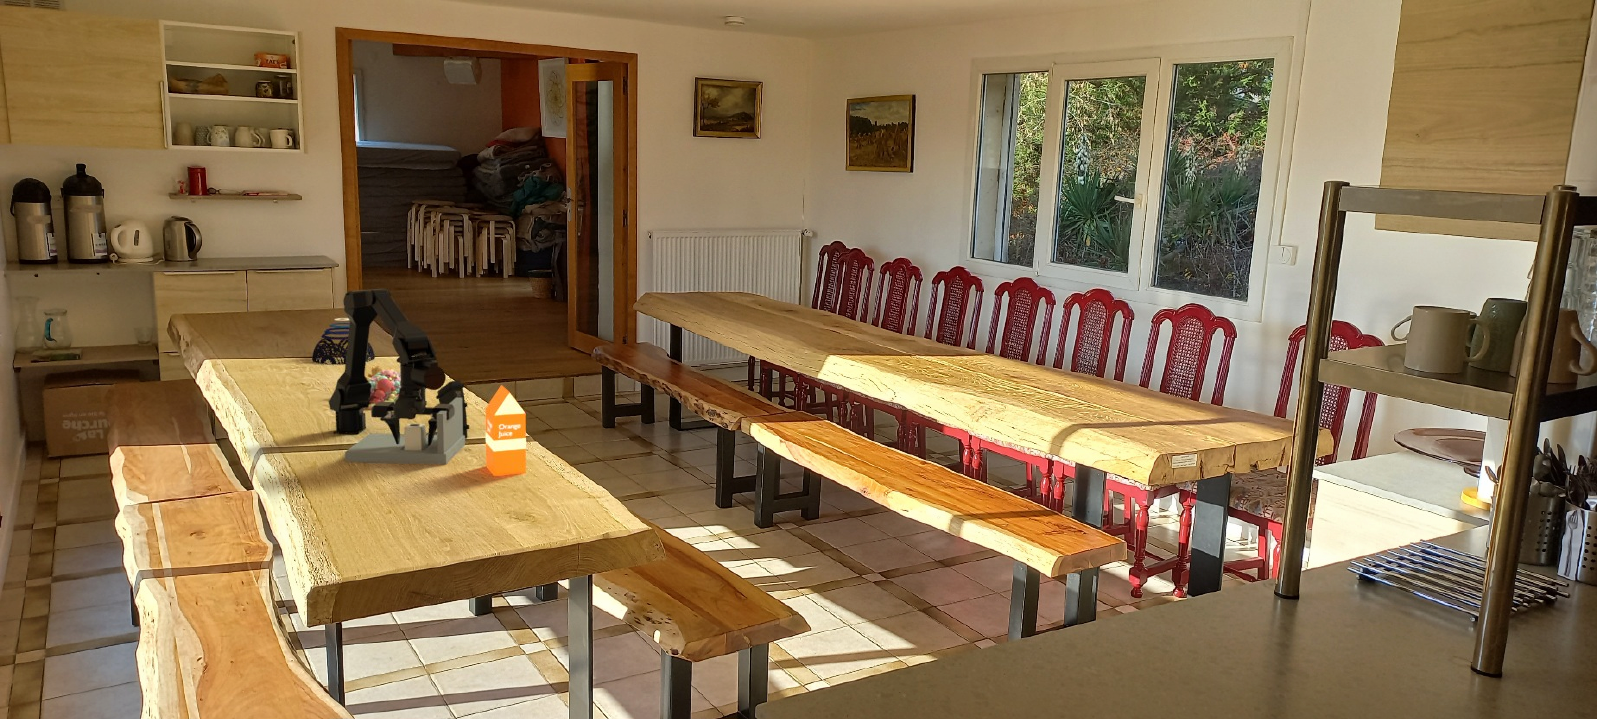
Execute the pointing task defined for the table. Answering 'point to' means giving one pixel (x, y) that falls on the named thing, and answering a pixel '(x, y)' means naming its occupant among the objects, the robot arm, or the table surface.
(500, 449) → the orange juice
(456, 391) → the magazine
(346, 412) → the robot arm
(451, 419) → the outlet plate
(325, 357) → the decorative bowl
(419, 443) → the block
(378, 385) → the candy landscape model
